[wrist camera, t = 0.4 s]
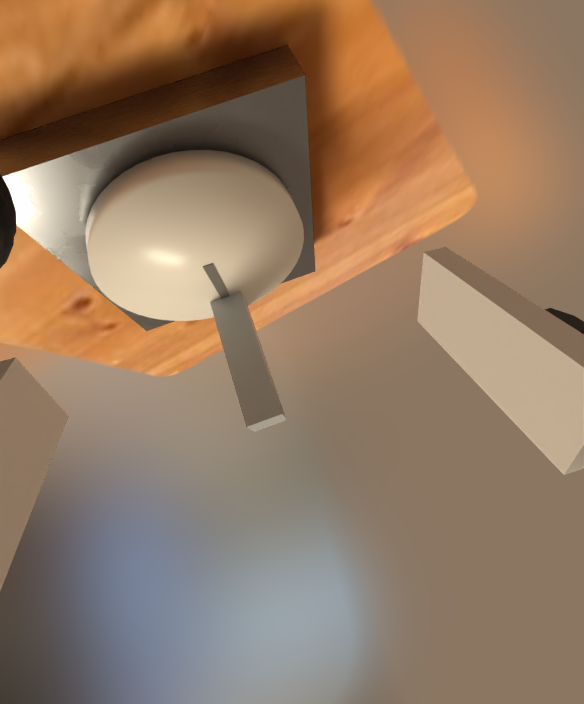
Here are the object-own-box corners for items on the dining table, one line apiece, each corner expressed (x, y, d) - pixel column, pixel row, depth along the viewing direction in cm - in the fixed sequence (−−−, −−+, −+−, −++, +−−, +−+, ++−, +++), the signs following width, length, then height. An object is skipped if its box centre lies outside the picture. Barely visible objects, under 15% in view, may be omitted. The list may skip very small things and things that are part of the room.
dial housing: (-29, 150, 19) (-30, 189, 18) (287, 45, 20) (306, 76, 19) (141, 307, 37) (147, 332, 36) (305, 249, 37) (315, 272, 36)
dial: (21, 202, 19) (35, 437, 14) (283, 113, 20) (385, 311, 15) (153, 321, 34) (183, 457, 29) (302, 269, 35) (355, 394, 30)
